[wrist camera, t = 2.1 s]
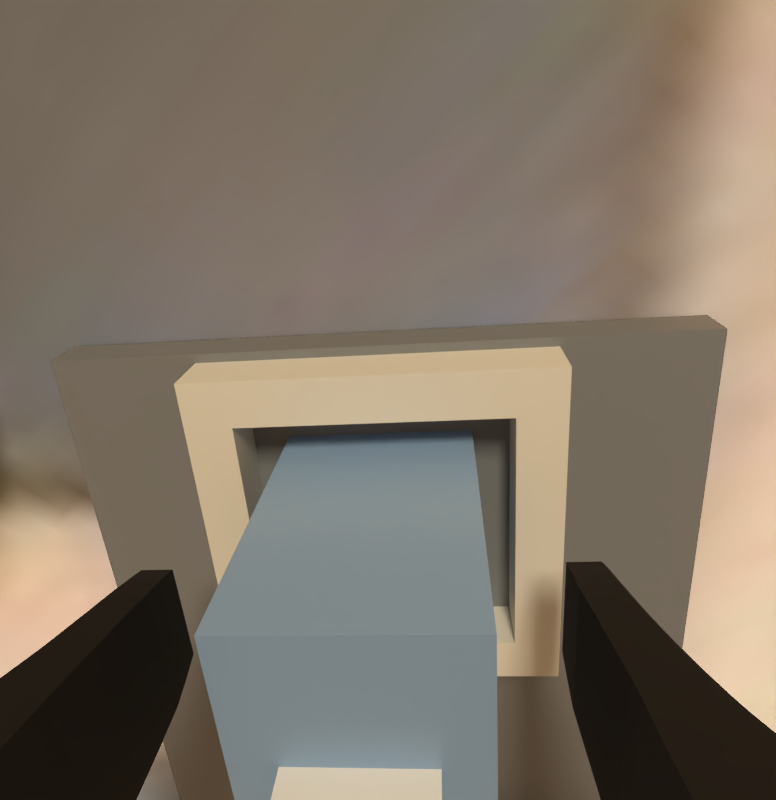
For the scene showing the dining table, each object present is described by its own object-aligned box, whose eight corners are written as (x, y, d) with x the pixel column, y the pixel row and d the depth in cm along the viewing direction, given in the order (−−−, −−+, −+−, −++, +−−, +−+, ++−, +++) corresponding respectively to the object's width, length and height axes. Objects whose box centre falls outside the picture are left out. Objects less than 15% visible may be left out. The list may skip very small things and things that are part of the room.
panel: (707, 314, 13) (755, 348, 11) (627, 933, 22) (647, 1015, 20) (74, 346, 15) (16, 381, 12) (234, 918, 23) (214, 994, 21)
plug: (471, 429, 14) (501, 671, 7) (475, 580, 15) (502, 881, 9) (289, 436, 14) (176, 671, 8) (311, 582, 15) (231, 872, 9)
